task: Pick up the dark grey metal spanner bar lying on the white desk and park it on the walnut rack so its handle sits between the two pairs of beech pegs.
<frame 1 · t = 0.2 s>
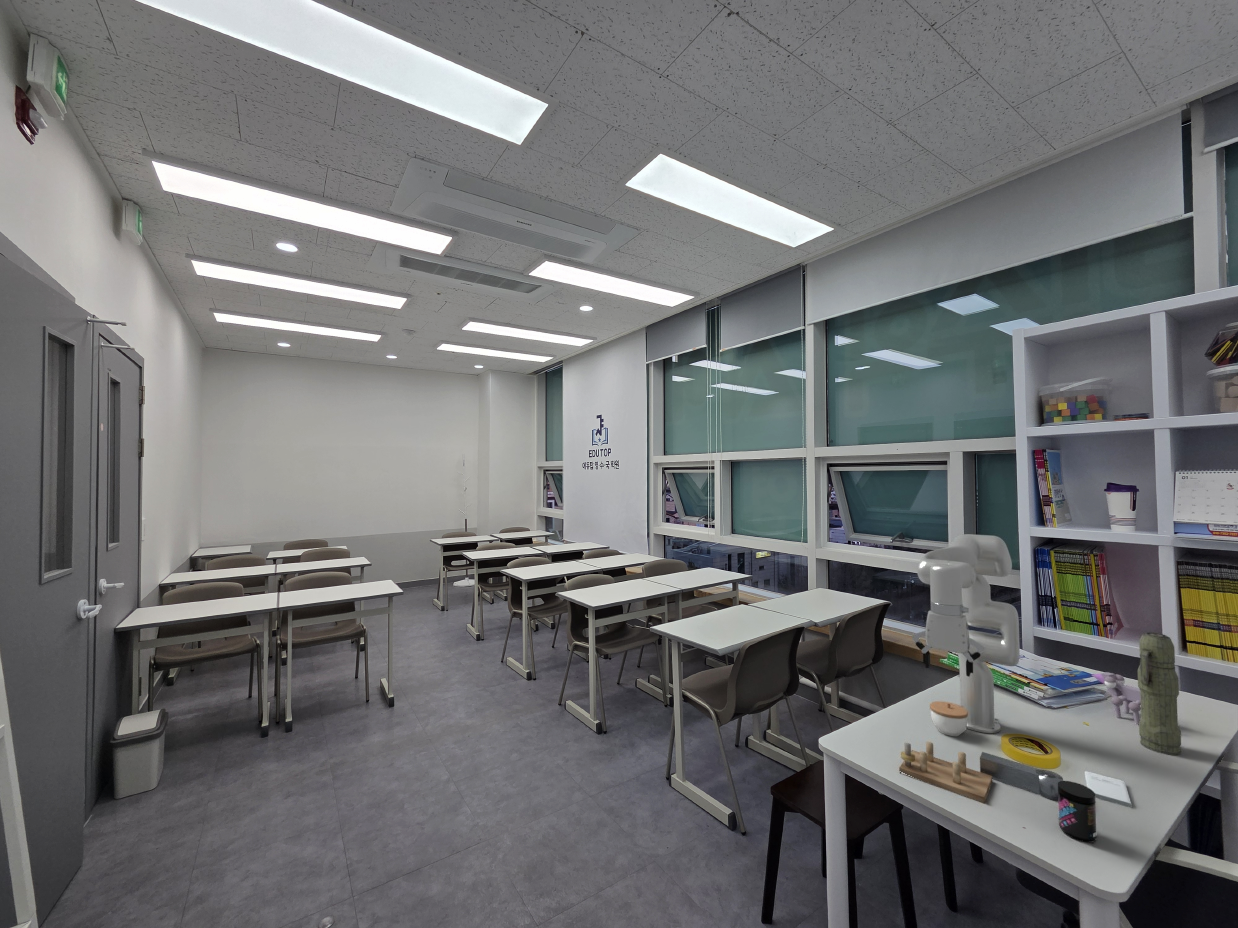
hand: (947, 670, 143), 31 cm above the table, fingers open, 9 cm apart
external hard drive: (1107, 792, 138), on the table
moai statue: (1160, 748, 159), on the table
spanner bar: (1012, 781, 141), on the table
supplement container: (1077, 834, 121), on the table
rack: (945, 776, 144), on the table
lidded jar: (949, 732, 170), on the table
purple toy animal: (1126, 717, 180), on the table
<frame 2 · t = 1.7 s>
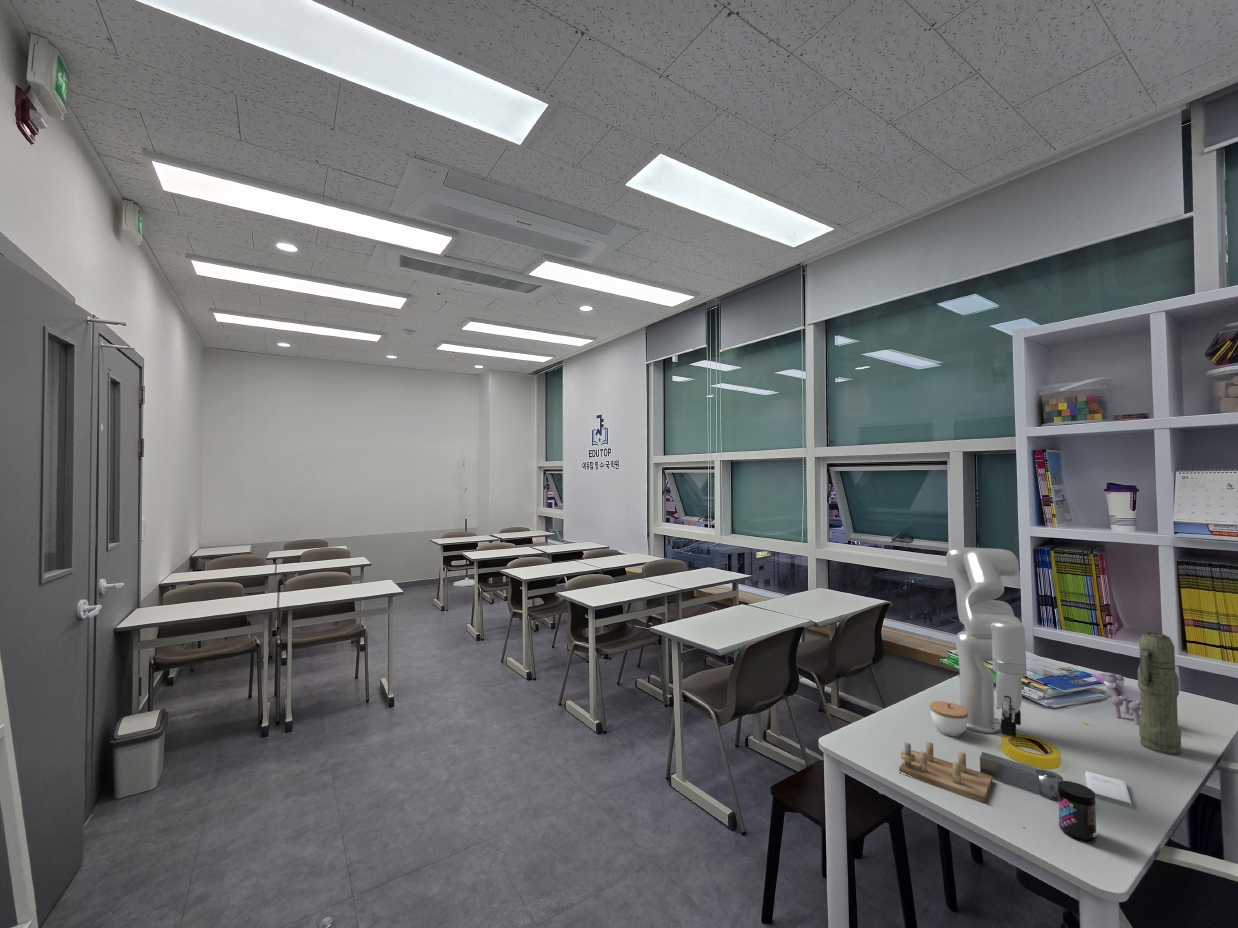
hand: (1011, 729, 141), 15 cm above the table, fingers open, 9 cm apart
nothing on the table moved.
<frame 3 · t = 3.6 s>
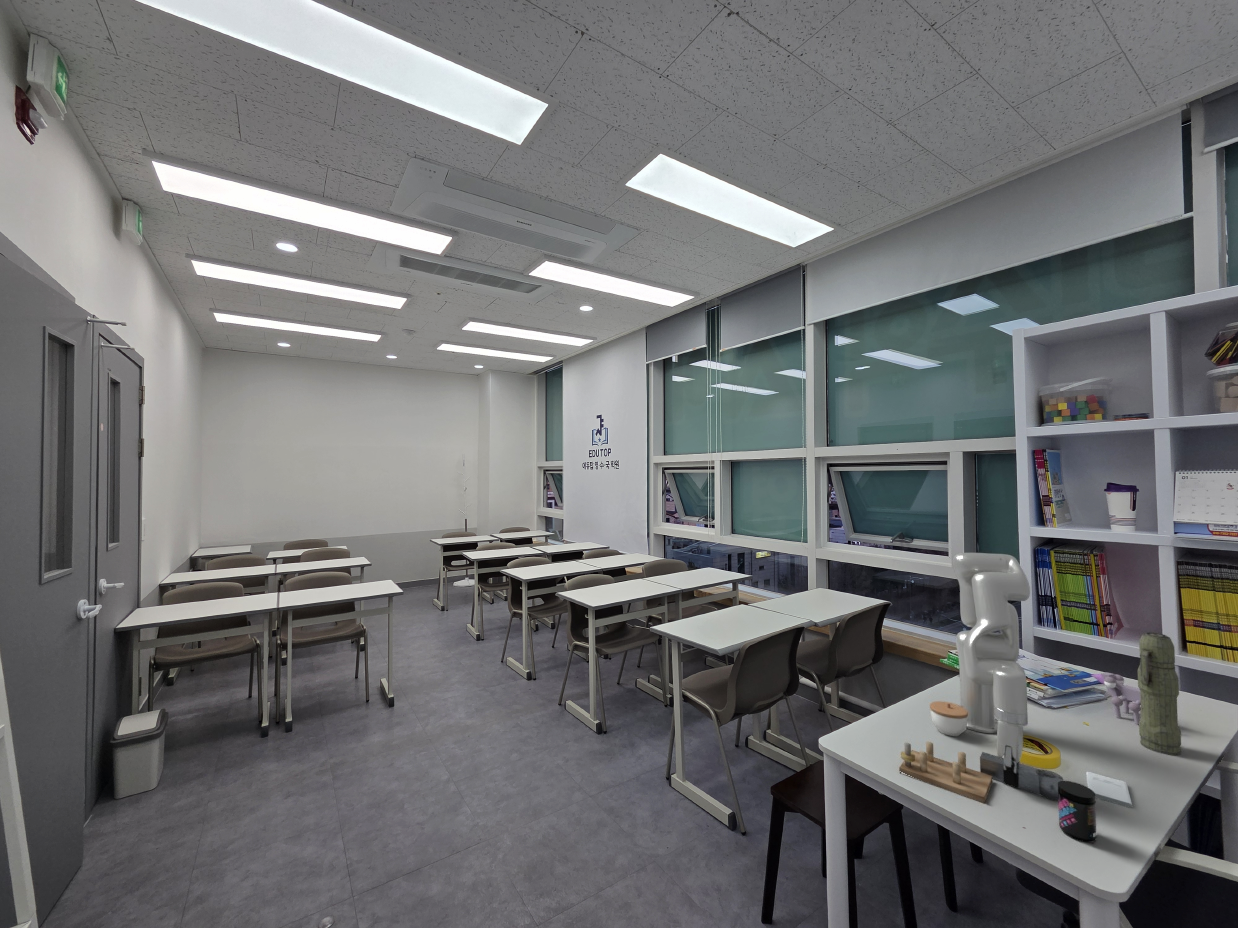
hand: (1012, 780, 141), 0 cm above the table, fingers closed on spanner bar, 4 cm apart
spanner bar: (1012, 781, 141), on the table, touching gripper
everything else where it was.
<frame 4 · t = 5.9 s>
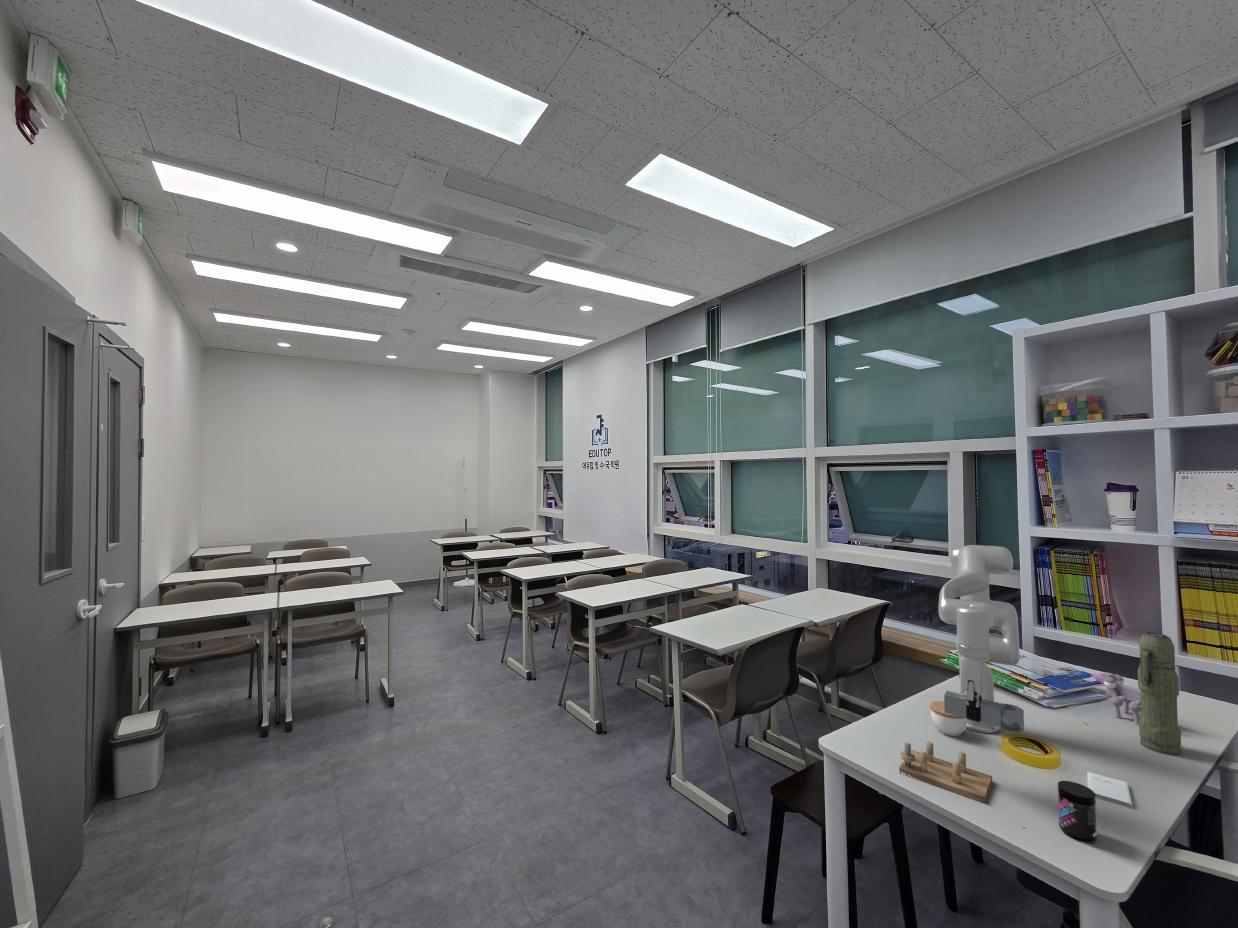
hand: (974, 716, 143), 17 cm above the table, fingers closed on spanner bar, 4 cm apart
spanner bar: (975, 717, 143), point 17 cm above the table, touching gripper
everything else where it was.
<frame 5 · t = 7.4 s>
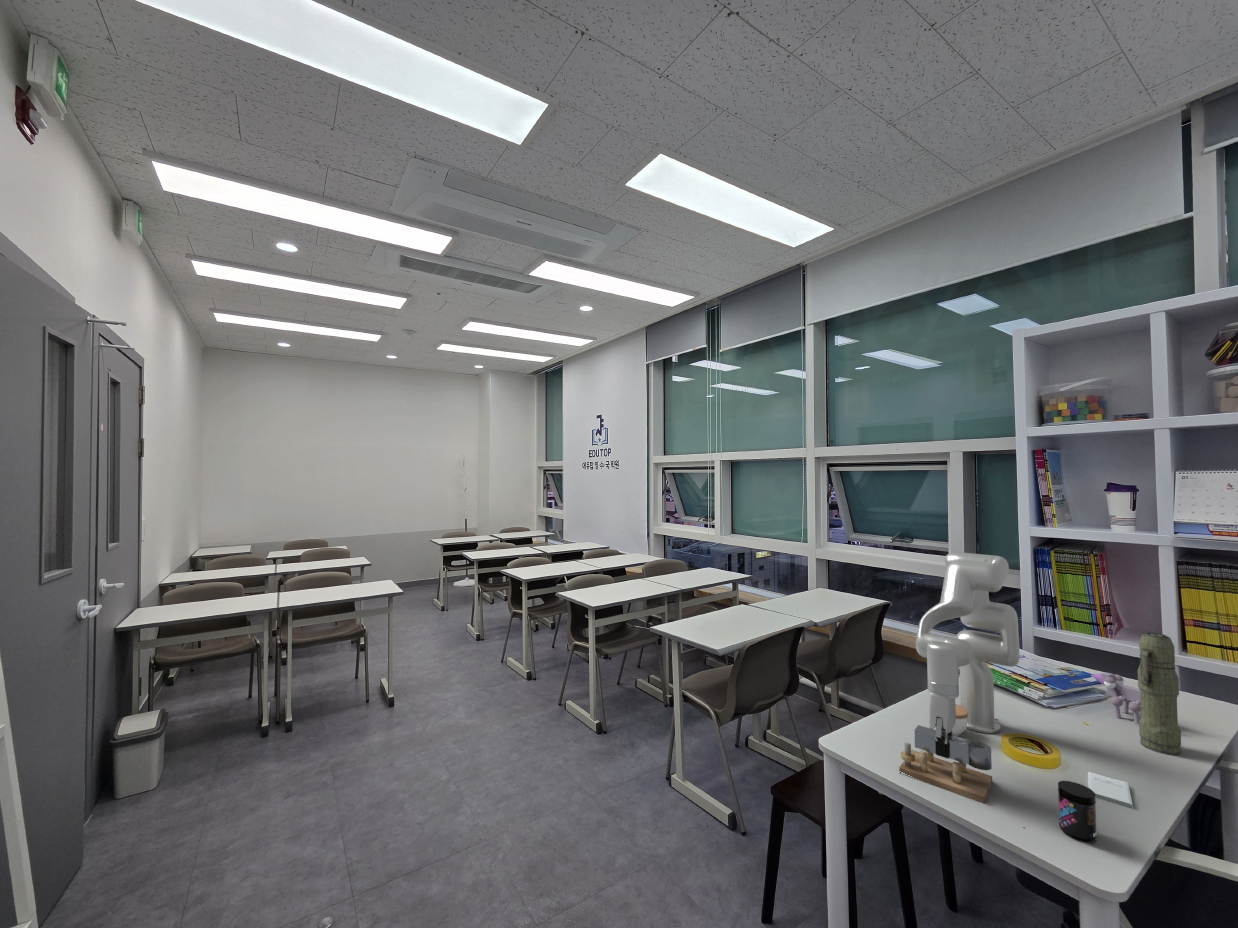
hand: (944, 752, 144), 7 cm above the table, fingers closed on spanner bar, 4 cm apart
spanner bar: (944, 753, 144), point 7 cm above the table, touching gripper
everything else where it was.
when the fingers open (3 cm above the table, at t = 8.6 s): spanner bar stays where it is, resting on rack.
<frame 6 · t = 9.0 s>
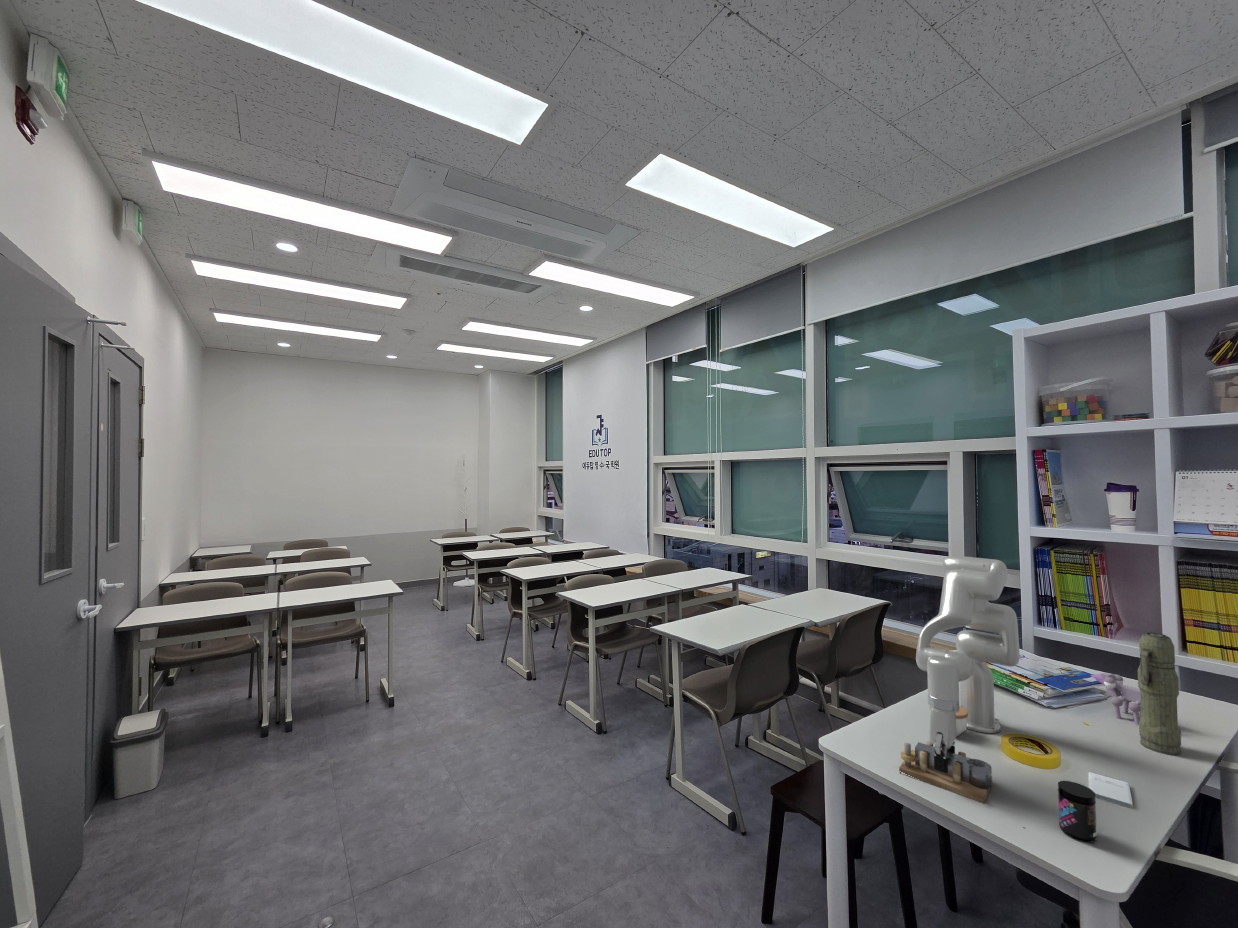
hand: (944, 764, 144), 4 cm above the table, fingers open, 8 cm apart
spanner bar: (945, 771, 144), point 1 cm above the table, touching rack
everything else where it was.
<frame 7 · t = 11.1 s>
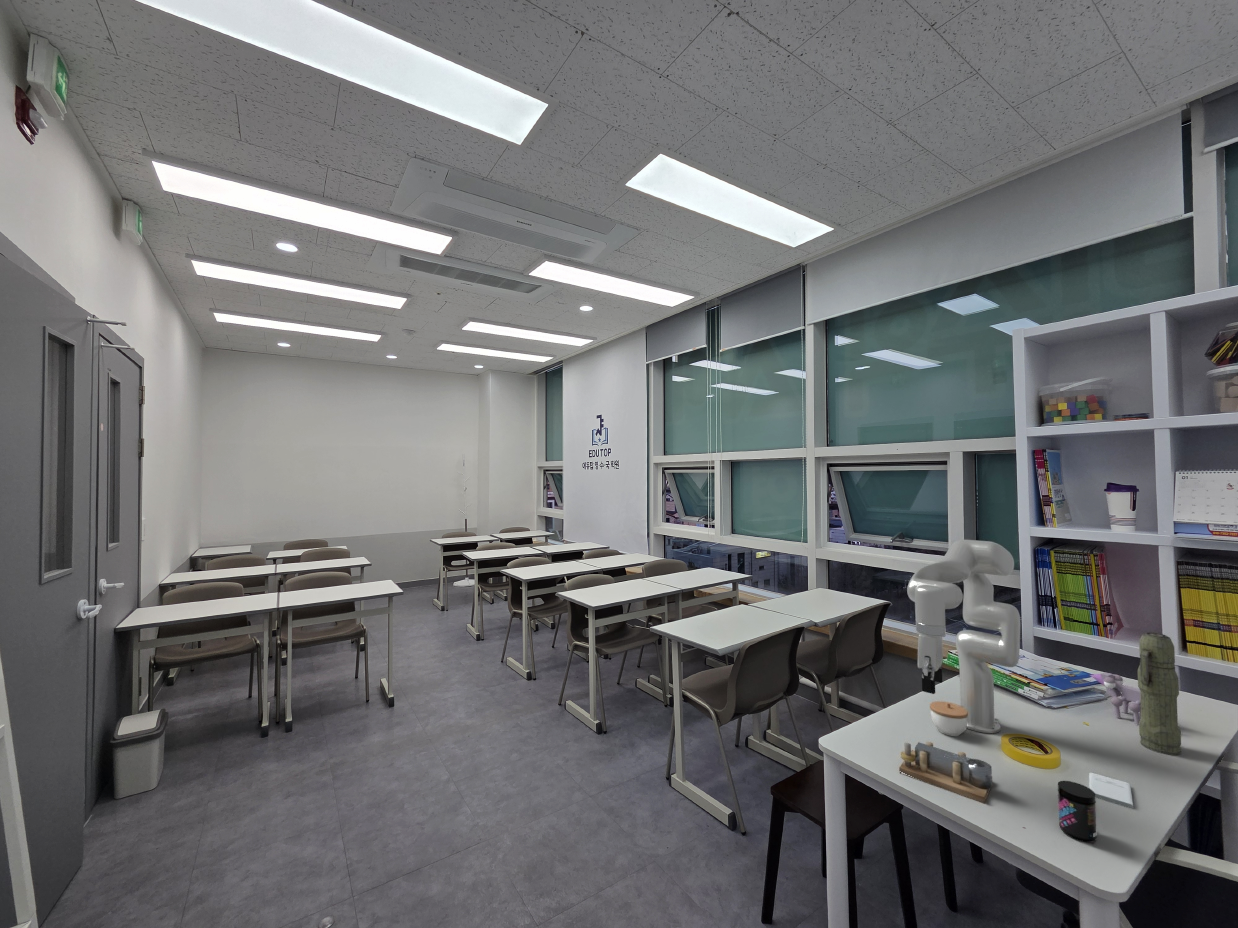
hand: (932, 686, 150), 23 cm above the table, fingers open, 9 cm apart
nothing on the table moved.
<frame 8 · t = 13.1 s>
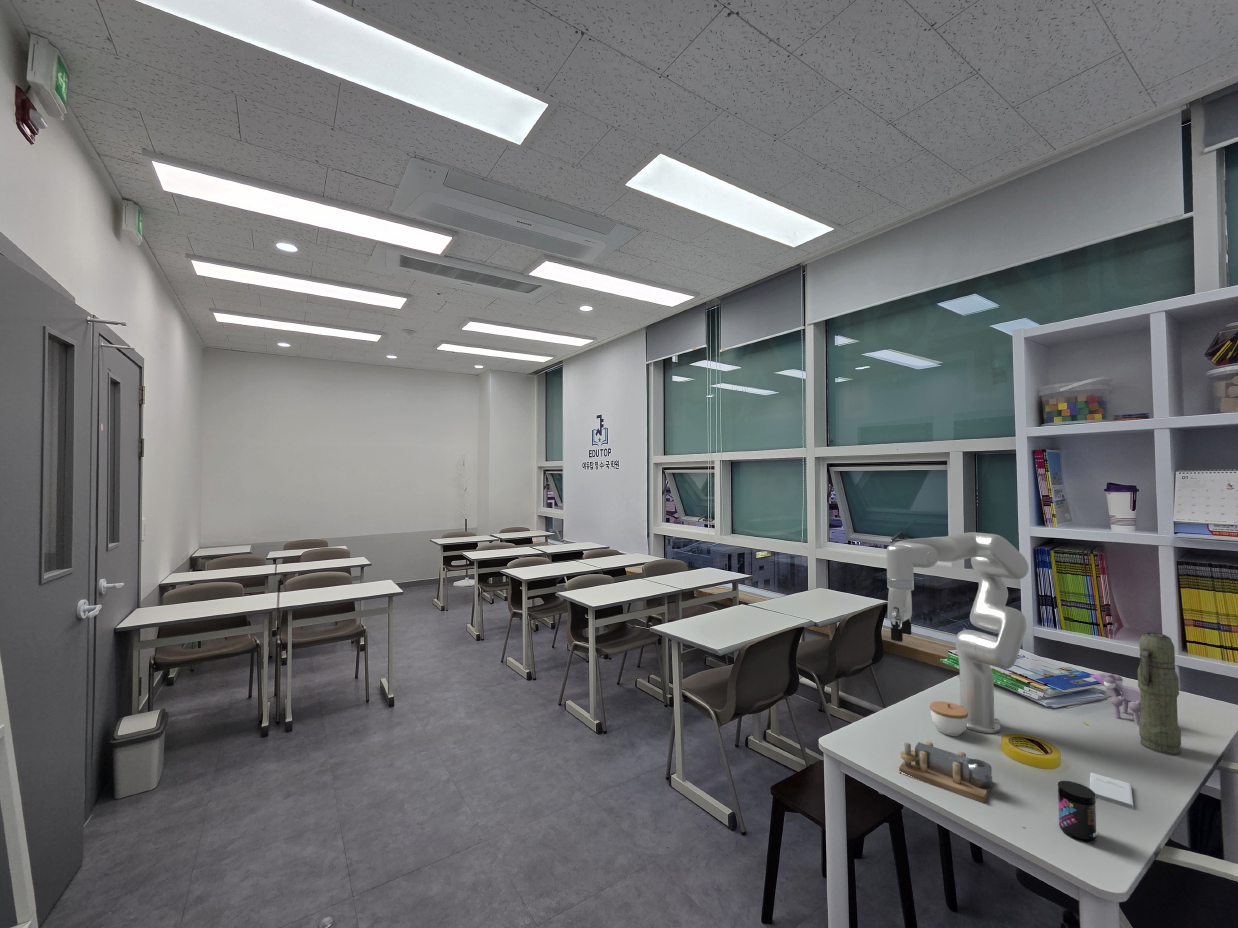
hand: (901, 637, 164), 33 cm above the table, fingers open, 9 cm apart
nothing on the table moved.
at the end: spanner bar 0.1 cm off-centre on the rack, point 1.5 cm above the rack's base; spanner bar tilted 0°; the gripper is holding nothing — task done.
